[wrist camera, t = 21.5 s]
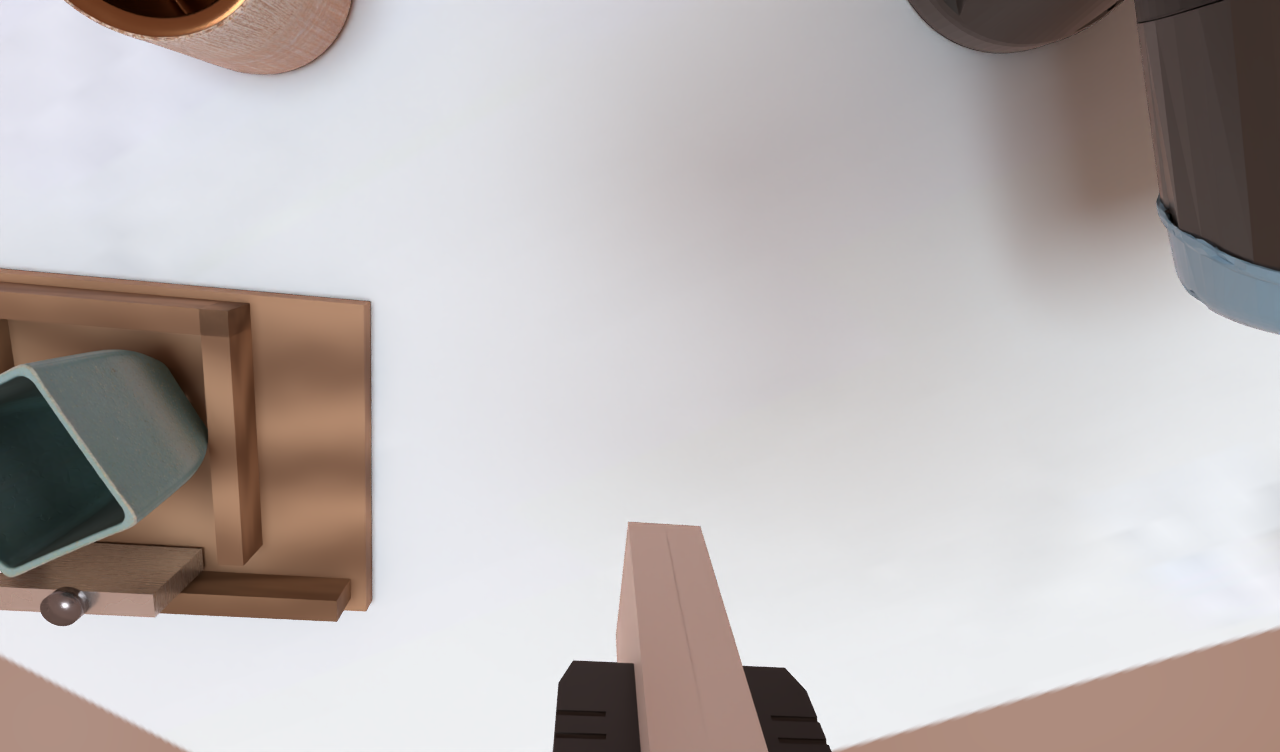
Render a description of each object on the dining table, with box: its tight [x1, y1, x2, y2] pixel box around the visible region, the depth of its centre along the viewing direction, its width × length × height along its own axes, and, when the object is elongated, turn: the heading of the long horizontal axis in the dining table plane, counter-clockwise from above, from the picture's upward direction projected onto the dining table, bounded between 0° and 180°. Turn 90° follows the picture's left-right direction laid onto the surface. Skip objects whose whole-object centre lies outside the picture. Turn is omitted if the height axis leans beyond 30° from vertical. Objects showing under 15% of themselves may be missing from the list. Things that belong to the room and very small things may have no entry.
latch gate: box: [0, 543, 204, 626], centre depth 40 cm, size 2×9×6 cm, turn 84°
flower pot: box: [0, 349, 208, 577], centre depth 36 cm, size 9×9×9 cm
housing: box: [0, 269, 372, 622], centre depth 41 cm, size 21×22×4 cm
